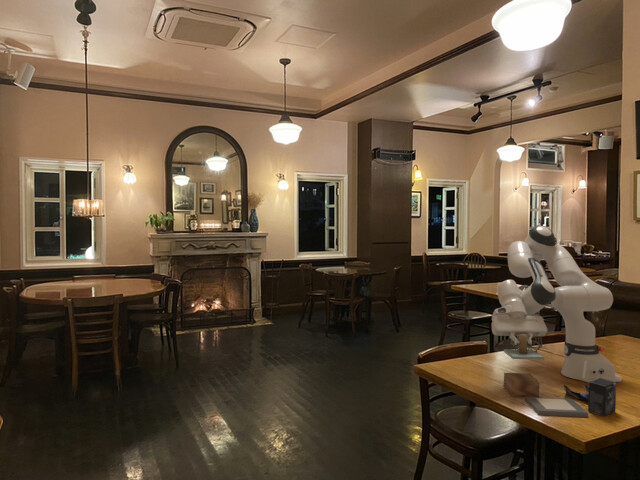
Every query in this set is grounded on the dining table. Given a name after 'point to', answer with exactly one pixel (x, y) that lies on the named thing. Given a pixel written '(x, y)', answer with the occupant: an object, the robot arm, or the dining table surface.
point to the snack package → (578, 395)
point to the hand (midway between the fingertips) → (523, 344)
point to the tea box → (521, 385)
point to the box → (602, 397)
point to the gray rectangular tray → (556, 406)
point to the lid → (523, 350)
